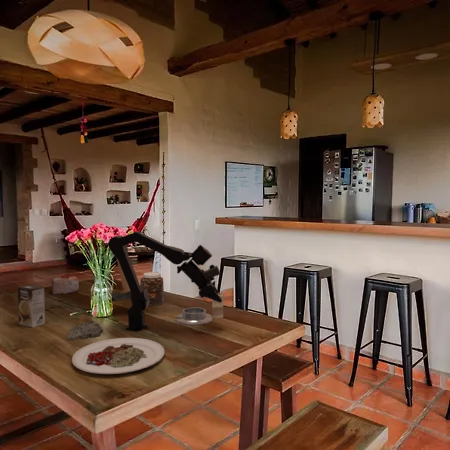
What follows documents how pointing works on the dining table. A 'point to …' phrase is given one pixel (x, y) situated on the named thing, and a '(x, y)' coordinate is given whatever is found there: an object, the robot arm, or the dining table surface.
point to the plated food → (118, 355)
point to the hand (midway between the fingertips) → (221, 300)
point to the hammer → (126, 291)
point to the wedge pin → (217, 307)
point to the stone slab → (85, 331)
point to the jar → (153, 287)
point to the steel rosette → (194, 316)
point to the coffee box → (31, 305)
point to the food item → (64, 284)
